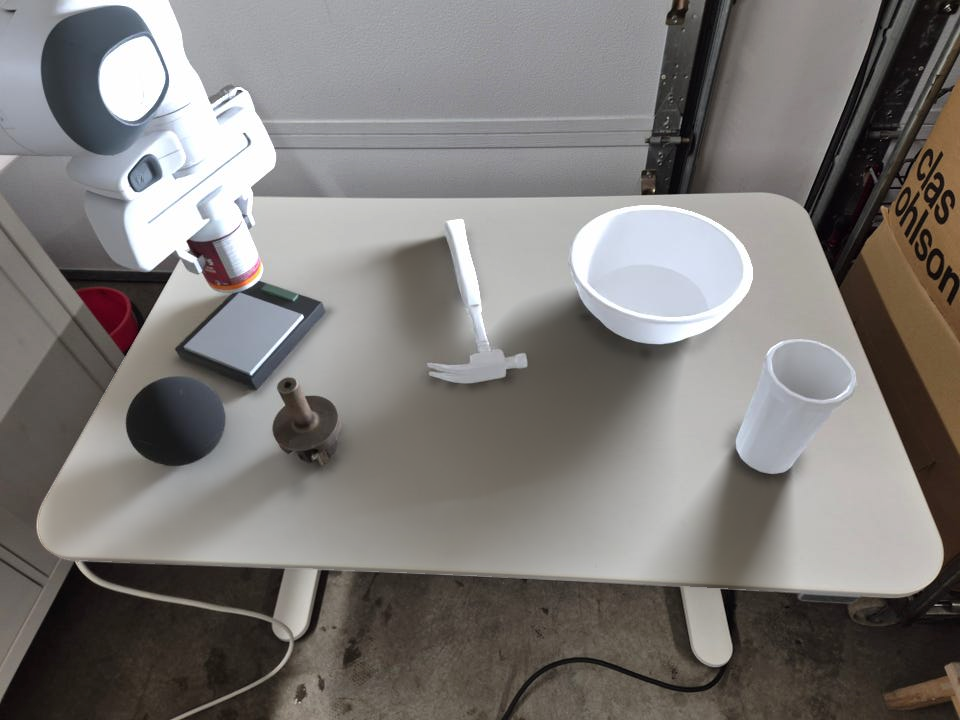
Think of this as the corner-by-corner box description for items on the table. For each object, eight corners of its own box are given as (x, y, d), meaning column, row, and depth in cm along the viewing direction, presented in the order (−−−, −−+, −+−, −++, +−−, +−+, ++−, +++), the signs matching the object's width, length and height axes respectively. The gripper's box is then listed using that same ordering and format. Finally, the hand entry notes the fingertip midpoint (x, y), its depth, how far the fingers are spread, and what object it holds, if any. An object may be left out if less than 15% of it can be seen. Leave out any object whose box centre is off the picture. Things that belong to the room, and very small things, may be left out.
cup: (807, 434, 69) (861, 351, 58) (798, 494, 64) (855, 416, 53) (733, 411, 71) (771, 328, 60) (719, 467, 67) (758, 388, 56)
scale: (256, 390, 77) (249, 377, 75) (180, 358, 81) (171, 345, 79) (325, 311, 86) (321, 298, 84) (253, 287, 90) (247, 273, 88)
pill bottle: (198, 280, 68) (151, 195, 60) (242, 251, 71) (204, 166, 63) (231, 303, 66) (187, 217, 57) (276, 272, 69) (240, 185, 60)
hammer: (432, 391, 76) (429, 375, 73) (407, 240, 95) (404, 224, 92) (528, 374, 77) (528, 358, 74) (484, 228, 96) (483, 212, 93)
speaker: (233, 399, 76) (201, 347, 69) (243, 464, 70) (209, 414, 63) (150, 426, 74) (107, 374, 67) (152, 494, 68) (106, 447, 61)
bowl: (669, 235, 92) (681, 187, 86) (771, 334, 79) (794, 286, 72) (536, 280, 87) (537, 233, 81) (620, 394, 74) (630, 349, 67)
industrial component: (293, 420, 74) (261, 356, 65) (352, 418, 74) (328, 353, 64) (276, 490, 68) (238, 430, 59) (341, 489, 67) (313, 428, 58)
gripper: (217, 71, 62) (261, 188, 72) (48, 180, 50) (130, 300, 61) (266, 81, 60) (304, 200, 70) (101, 197, 48) (177, 318, 59)
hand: (222, 248), depth 65 cm, fingers closed on pill bottle, 6 cm apart
